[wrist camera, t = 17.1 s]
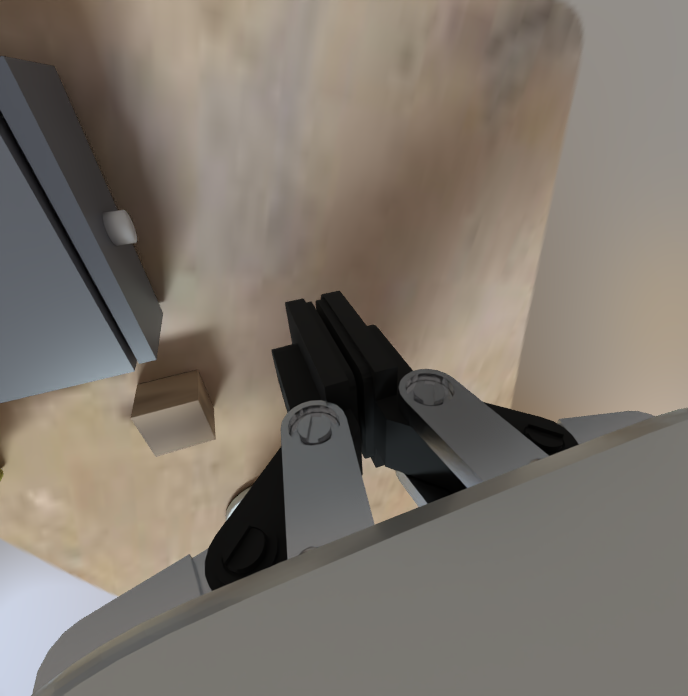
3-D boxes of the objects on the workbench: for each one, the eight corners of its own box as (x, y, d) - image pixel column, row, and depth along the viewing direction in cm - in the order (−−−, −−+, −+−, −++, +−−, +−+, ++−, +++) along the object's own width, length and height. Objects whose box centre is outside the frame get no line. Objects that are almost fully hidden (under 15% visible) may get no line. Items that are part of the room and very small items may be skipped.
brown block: (213, 408, 34) (215, 439, 31) (159, 422, 33) (155, 456, 30) (197, 369, 31) (198, 400, 28) (137, 384, 30) (130, 418, 26)
